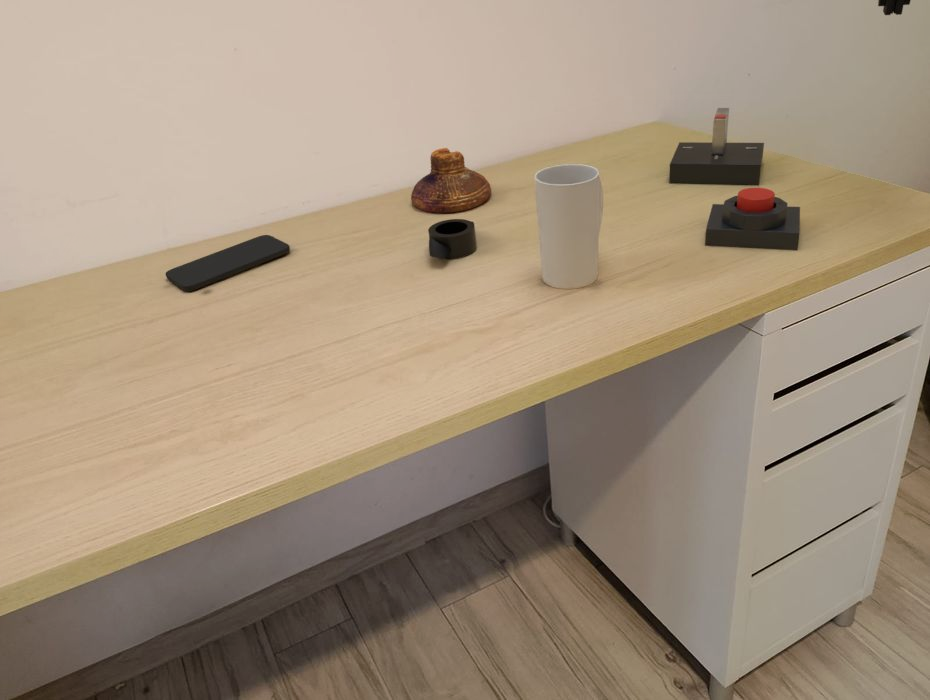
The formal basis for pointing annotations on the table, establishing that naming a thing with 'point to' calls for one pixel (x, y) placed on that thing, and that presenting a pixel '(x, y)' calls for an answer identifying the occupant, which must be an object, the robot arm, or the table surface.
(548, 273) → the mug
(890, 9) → the robot arm
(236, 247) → the phone
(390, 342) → the table surface
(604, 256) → the table surface
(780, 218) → the button box
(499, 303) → the table surface
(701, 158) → the plate
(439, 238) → the duct tape
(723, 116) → the tap handle
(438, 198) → the bell
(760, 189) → the button
